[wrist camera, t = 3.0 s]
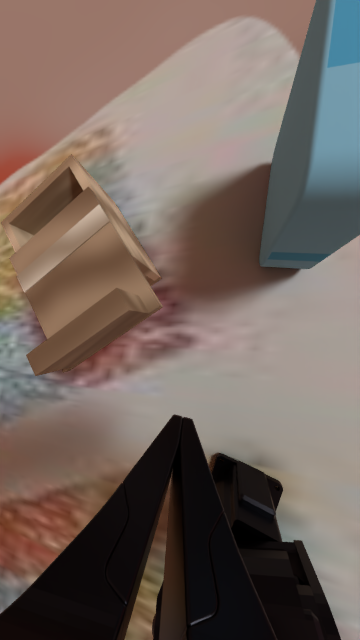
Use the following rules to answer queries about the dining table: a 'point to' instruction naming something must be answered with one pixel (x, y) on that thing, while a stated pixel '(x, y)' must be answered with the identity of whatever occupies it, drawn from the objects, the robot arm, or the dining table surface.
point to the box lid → (81, 285)
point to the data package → (318, 146)
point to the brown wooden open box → (56, 197)
